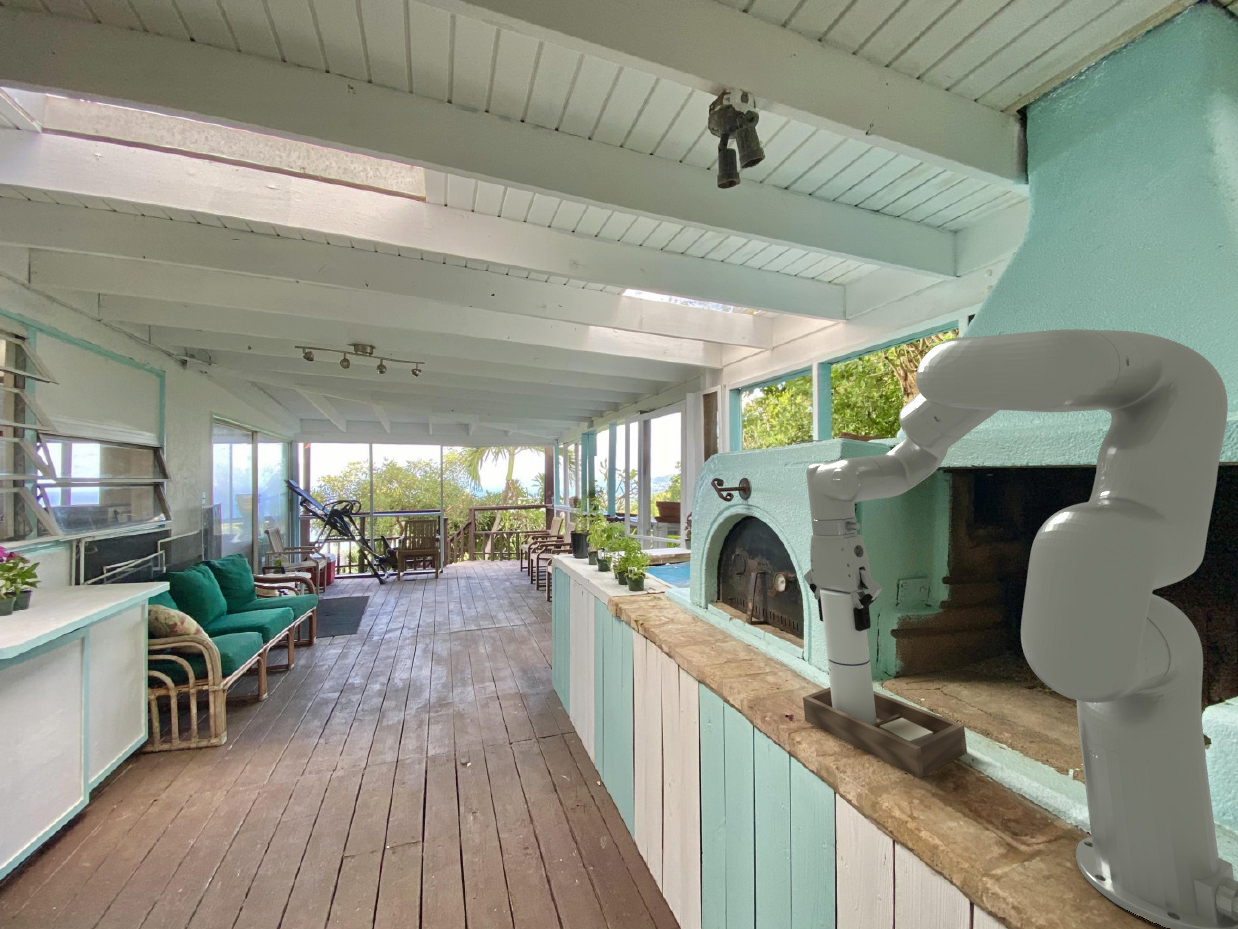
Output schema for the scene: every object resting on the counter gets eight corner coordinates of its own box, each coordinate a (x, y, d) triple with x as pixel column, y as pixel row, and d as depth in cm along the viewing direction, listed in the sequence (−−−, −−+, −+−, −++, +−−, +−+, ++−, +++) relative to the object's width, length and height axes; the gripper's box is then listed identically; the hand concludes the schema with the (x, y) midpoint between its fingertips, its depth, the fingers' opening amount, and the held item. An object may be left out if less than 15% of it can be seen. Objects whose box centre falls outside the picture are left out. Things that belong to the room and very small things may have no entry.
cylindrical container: (853, 741, 86) (837, 596, 87) (826, 723, 93) (811, 589, 94) (887, 732, 88) (871, 590, 89) (857, 715, 95) (843, 583, 96)
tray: (967, 757, 79) (964, 725, 79) (919, 783, 73) (916, 749, 74) (849, 706, 98) (847, 680, 99) (805, 724, 93) (802, 697, 93)
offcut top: (934, 742, 79) (932, 732, 80) (910, 751, 78) (909, 741, 78) (903, 727, 85) (902, 717, 85) (880, 735, 83) (879, 725, 83)
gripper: (890, 527, 86) (902, 631, 85) (812, 524, 101) (821, 611, 100) (861, 532, 82) (873, 640, 82) (784, 528, 98) (793, 619, 97)
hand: (844, 623), depth 91 cm, fingers closed on cylindrical container, 7 cm apart
